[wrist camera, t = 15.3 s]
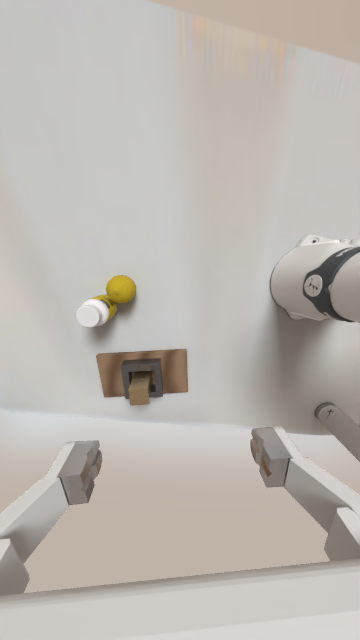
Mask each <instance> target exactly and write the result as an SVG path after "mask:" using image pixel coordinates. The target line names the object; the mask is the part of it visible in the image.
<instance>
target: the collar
mask: <svg viewBox="0 0 360 640" xmlns="http://www.w3.org/2000/svg"><path fill="white" fill-rule="evenodd" d="M153 370H154V375H155V384H153V385H152V391H151V397H163V380H162V367H161V358H152V359H135V360H124V361H123V363H122V365H121V371H122V378H123V385H124V391H125V398H126V399H130V398H129V391H128V389H129V386H130V383H131V381H132V378H133V376H132V372H137V371H153Z"/></svg>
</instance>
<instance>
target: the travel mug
mask: <svg viewBox="0 0 360 640" xmlns="http://www.w3.org/2000/svg"><path fill="white" fill-rule="evenodd" d="M315 415H316V417H317V418H318V419H319V420H320V421H321V422H322V424H323V425H324V426H325V427H326V428H327V429H328V430H329V431H330V432H331V433H332V434H333V435H334V436H335V437H336V438H337V439H338V440H339V441H340V442H341V443H342V444H343V445H344V446H345V447H346V448H347V449H348V450H349V451H350V452H351V453H352V454H353V455H354V456H355V457H356V459H357V460H359V461H360V426H359V425H358V424H356V423H355V422H354V421H353V420H352V419H350V418H349V417H348V416H347V415H346V414H345V413H343V412H342V411H341V410H340V409H338V408H337V407H336V406H335V405H334V404H332V403H324V404H322V405H320V406H319V407H318V408H317V409H316V412H315Z"/></svg>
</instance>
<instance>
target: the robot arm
mask: <svg viewBox="0 0 360 640" xmlns="http://www.w3.org/2000/svg"><path fill="white" fill-rule="evenodd" d="M313 241H314V243H312V242H313ZM349 241H350V240H349V239H342V240H335V239H330V238H325V237H320V236H315V235H306V236H304V237H303V238H302V239H301V241H300V242H299V243H298V245H297V246H296V247H295V248H294V249H293V250H292V251H290V252H289V253H287V254H286V255H285V256H284V257H283V258H282V259H281V260H280V261H279V262H278V264H277V265H276V267H275V269H274V271H273V274H272V278H271V292H272V295H273V298H274V299H275V301H276V302H277V303H278V304H279V305H280V306H281V307H283V308H284V309H286V310H287V312H288V314H289V316H290V317H291V318H292V319H295V320H299V319H303V318H311V319H315V320H319V321H322V320H323V319H328V318H333V319H336V320H340V321H346V322H358V323H360V239H356V240H351V241H350V242H349ZM251 434H252V436H253V439H252V440H251V452H252V455H253V458H254V460H255V462H256V463H257V464H258V465H259V466H260V474H261V476H262V478H263V481H264V483H265V485H266V487H283V486H284V488H285V489H286V490H287V491H288V492H289V493H290V494H291V495H292V496H293V497H294V498H295V499H296V500H297V501H298V502H299V503H300V505H301V506H303V507H304V509H305V510H306V511H307V512H308V513H309V514H310V515H311V516H312V517H313V518H314V519H315V520H316V521H317V522H318V523H319V524H320V525H321V526H322V527H323V528H324V529H325V530H326V531H327V532H328V537H327V540H326V543H325V547H324V550H325V552H326V554H327V556H328V557H329V559H330V562H320V563H311V564H301V565H291V566H282V567H272V568H262V569H253V570H243V571H234V572H225V573H215V574H205V575H195V576H186V577H176V578H167V579H157V580H148V581H138V582H128V583H119V584H109V585H100V586H91V587H81V588H71V589H62V590H52V591H42V592H33V593H24V591H25V589H26V586H27V584H28V582H29V574H28V572H27V570H26V568H25V566H24V565H23V563H24V562H25V561H26V560H27V558H28V557H29V556H30V555H31V554H32V552H33V551H34V550H35V549H36V547H37V546H38V545H39V544H40V542H41V541H42V540H43V539H44V537H45V536H46V535H47V533H48V532H49V531H50V530H51V529H52V527H53V526H54V525H55V524H56V522H57V521H58V520H59V519H60V517H61V516H62V515H63V514H64V512H65V511H66V510H67V508H68V507H69V505H74V504H83V503H88V502H89V499H90V496H91V494H92V491H93V488H94V481H93V480H94V479H95V478H96V476H97V475H98V474H99V471H100V468H101V463H102V454H101V452H100V450H98V448H99V446H100V445H99V441H78V442H67V443H66V444H65V445H64V446H63V448H62V449H61V451H60V453H59V454H58V456H57V458H56V459H55V461H54V463H53V464H52V466H51V468H50V469H49V471H48V473H47V474H46V476H45V478H44V479H40V480H39V481H38V482H36V483H35V484H34V485H33V486H32V487H31V488H30V489H28V490H27V491H26V492H25V493H24V494H23V495H21V496H20V497H19V498H18V499H17V500H16V501H14V502H13V503H12V504H11V505H10V506H8V507H7V508H6V509H5V510H4V511H3V512H2V513H0V640H360V495H359V494H358V493H357V492H355V491H354V490H352V489H351V488H349V487H348V486H346V485H345V484H344V483H342V482H341V481H340V480H338V479H337V478H335V477H334V476H332V475H331V474H330V473H328V472H327V471H325V470H324V469H323V468H321V467H320V466H318V465H317V464H315V463H314V462H313V461H311V460H310V459H308V458H304V457H303V456H302V454H301V453H300V452H299V450H298V449H297V447H296V446H295V445H294V443H293V442H292V440H291V439H290V437H289V436H288V435H287V433H286V432H285V430H284V429H283V428H282V427H266V428H255V429H252V433H251Z"/></svg>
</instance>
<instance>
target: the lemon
mask: <svg viewBox="0 0 360 640" xmlns="http://www.w3.org/2000/svg"><path fill="white" fill-rule="evenodd" d="M106 291H107V295H108V296H109V298H110V299H111V300H113V301H114V302H117V303H127V302H129V301H131V300H132V299H133V298H134V296H135V294H136V285H135V283H134V282H133V280H132V279H130V278H129V277H127V276H123V275H118V276H115V277H113V278H112V279H111V280H110V281H109V282H108V284H107V287H106Z"/></svg>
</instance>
